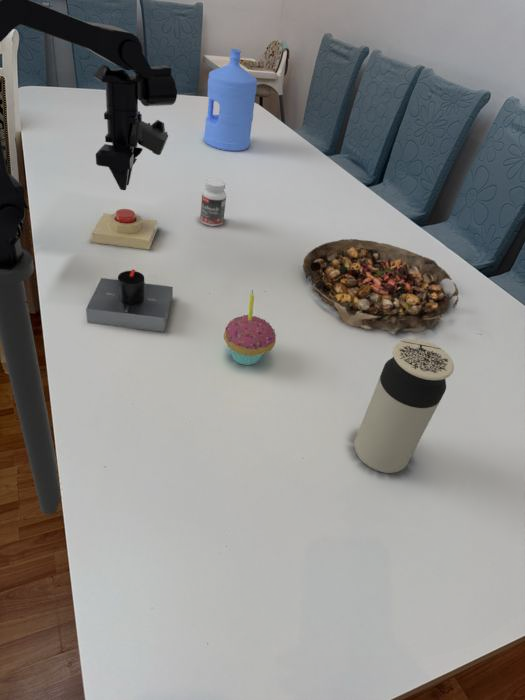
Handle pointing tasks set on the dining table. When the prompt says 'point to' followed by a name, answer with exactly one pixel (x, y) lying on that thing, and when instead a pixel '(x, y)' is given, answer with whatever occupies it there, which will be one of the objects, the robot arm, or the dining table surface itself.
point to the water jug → (230, 106)
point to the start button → (125, 216)
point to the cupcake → (249, 337)
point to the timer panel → (130, 307)
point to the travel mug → (402, 404)
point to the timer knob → (131, 287)
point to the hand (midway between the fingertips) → (124, 187)
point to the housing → (125, 232)
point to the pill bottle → (213, 202)
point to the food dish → (379, 285)
